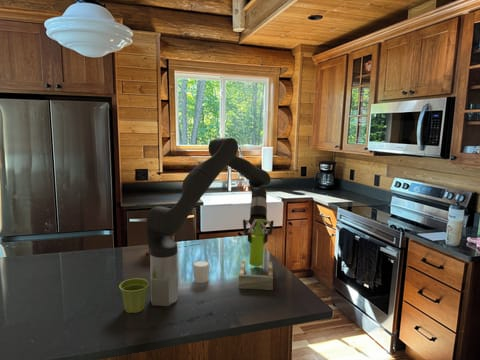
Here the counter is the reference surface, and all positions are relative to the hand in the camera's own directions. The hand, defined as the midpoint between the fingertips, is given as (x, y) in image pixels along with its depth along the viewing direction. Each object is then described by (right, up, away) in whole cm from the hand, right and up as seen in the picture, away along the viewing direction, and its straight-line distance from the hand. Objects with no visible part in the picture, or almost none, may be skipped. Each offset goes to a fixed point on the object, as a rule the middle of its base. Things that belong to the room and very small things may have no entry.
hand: (257, 242), depth 144 cm
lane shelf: (-1, -13, -8) cm, 16 cm away
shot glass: (-23, -14, -9) cm, 28 cm away
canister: (-46, -9, +20) cm, 51 cm away
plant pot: (-43, -16, -32) cm, 56 cm away
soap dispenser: (0, -10, +3) cm, 11 cm away
